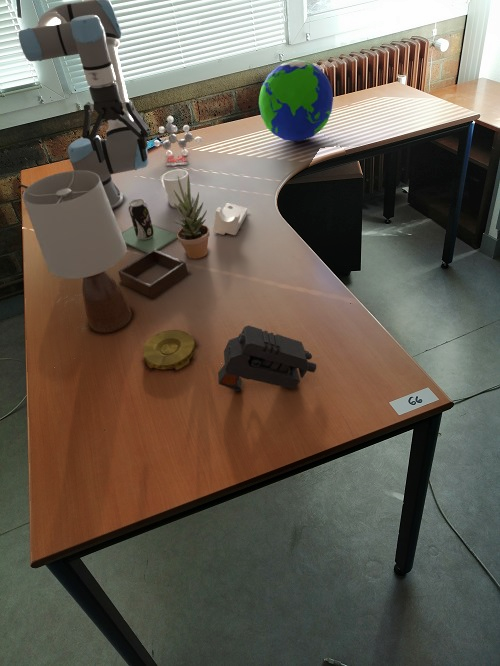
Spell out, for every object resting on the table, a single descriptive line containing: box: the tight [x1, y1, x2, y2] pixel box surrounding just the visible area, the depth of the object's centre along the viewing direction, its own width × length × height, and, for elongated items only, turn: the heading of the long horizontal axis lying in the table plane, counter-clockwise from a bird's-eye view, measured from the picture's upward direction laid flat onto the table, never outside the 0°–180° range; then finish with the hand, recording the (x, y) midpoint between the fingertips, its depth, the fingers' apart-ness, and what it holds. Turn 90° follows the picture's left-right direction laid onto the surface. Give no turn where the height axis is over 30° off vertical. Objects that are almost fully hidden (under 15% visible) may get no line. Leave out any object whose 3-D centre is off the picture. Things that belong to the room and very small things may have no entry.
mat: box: [121, 225, 178, 254], centre depth 161 cm, size 18×12×1 cm, turn 50°
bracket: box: [213, 202, 249, 236], centre depth 160 cm, size 13×7×8 cm, turn 164°
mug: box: [159, 168, 193, 209], centre depth 175 cm, size 11×9×10 cm
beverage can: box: [128, 198, 154, 240], centre depth 157 cm, size 6×6×12 cm
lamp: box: [22, 170, 132, 334], centre depth 119 cm, size 19×19×37 cm
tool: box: [217, 324, 317, 392], centre depth 105 cm, size 6×19×15 cm, turn 95°
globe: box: [258, 59, 334, 142], centre depth 202 cm, size 30×30×30 cm
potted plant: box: [173, 174, 211, 260], centre depth 143 cm, size 10×10×25 cm
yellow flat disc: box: [142, 329, 196, 371], centre depth 118 cm, size 12×12×2 cm
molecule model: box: [153, 115, 202, 167], centre depth 204 cm, size 20×16×16 cm
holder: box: [117, 250, 189, 300], centre depth 142 cm, size 14×14×4 cm
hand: (123, 160), depth 149 cm, fingers open, 13 cm apart
